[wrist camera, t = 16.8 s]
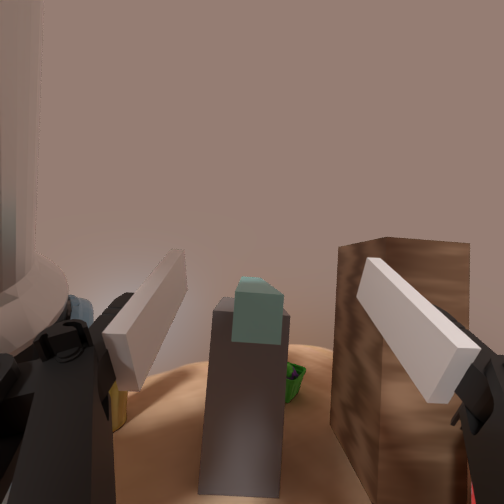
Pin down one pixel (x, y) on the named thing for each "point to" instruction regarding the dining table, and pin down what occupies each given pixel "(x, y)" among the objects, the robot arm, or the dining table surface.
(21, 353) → the robot arm
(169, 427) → the dining table surface
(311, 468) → the dining table surface
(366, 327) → the stand
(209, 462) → the step
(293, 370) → the fruit basket
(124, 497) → the dining table surface
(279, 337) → the bar
